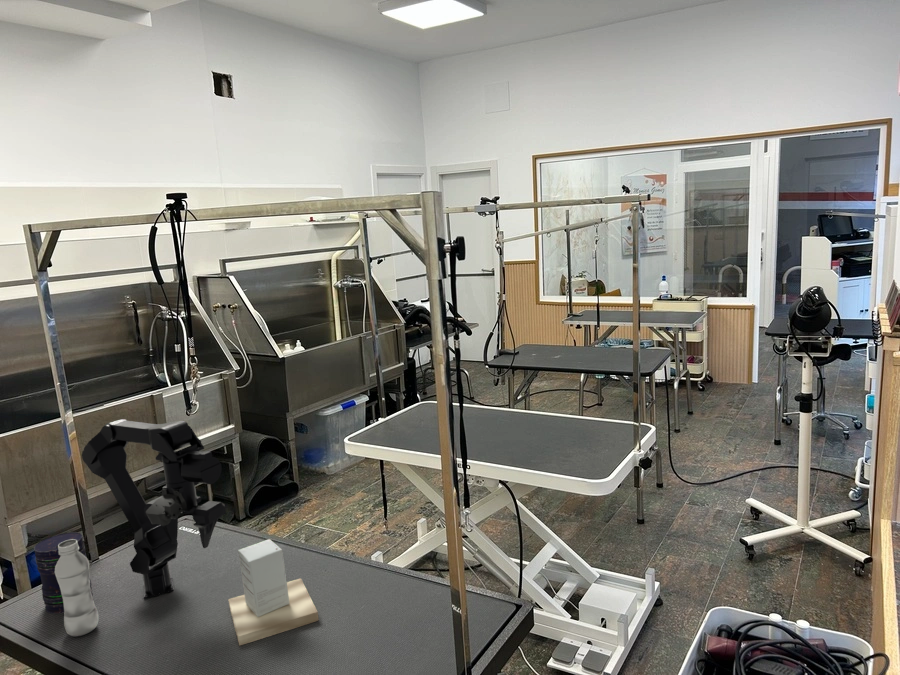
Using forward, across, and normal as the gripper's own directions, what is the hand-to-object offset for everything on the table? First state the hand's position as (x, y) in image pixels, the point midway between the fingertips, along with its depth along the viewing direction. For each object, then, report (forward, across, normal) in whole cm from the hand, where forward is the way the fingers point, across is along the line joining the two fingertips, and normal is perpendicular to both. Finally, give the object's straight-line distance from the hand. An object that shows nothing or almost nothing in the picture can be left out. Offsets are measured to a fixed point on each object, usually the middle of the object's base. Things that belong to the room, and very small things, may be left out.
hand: (189, 545), depth 147 cm
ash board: (+13, +21, 0) cm, 25 cm away
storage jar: (+13, -30, -9) cm, 34 cm away
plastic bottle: (+13, -15, -17) cm, 27 cm away
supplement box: (+11, +20, 0) cm, 23 cm away
